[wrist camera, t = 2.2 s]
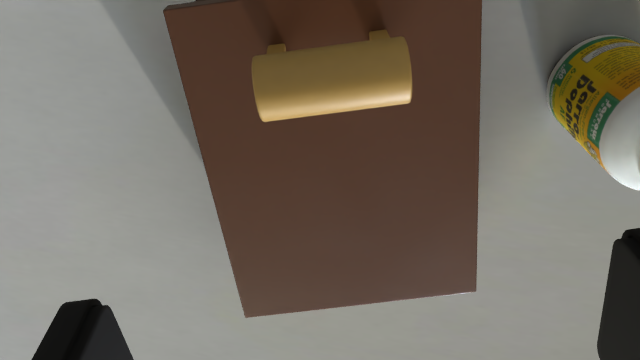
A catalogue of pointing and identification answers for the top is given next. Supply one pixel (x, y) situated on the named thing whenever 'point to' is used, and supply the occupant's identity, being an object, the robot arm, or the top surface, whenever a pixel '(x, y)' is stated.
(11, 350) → the top surface
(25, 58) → the top surface
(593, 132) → the supplement bottle
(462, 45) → the brown drawer front
